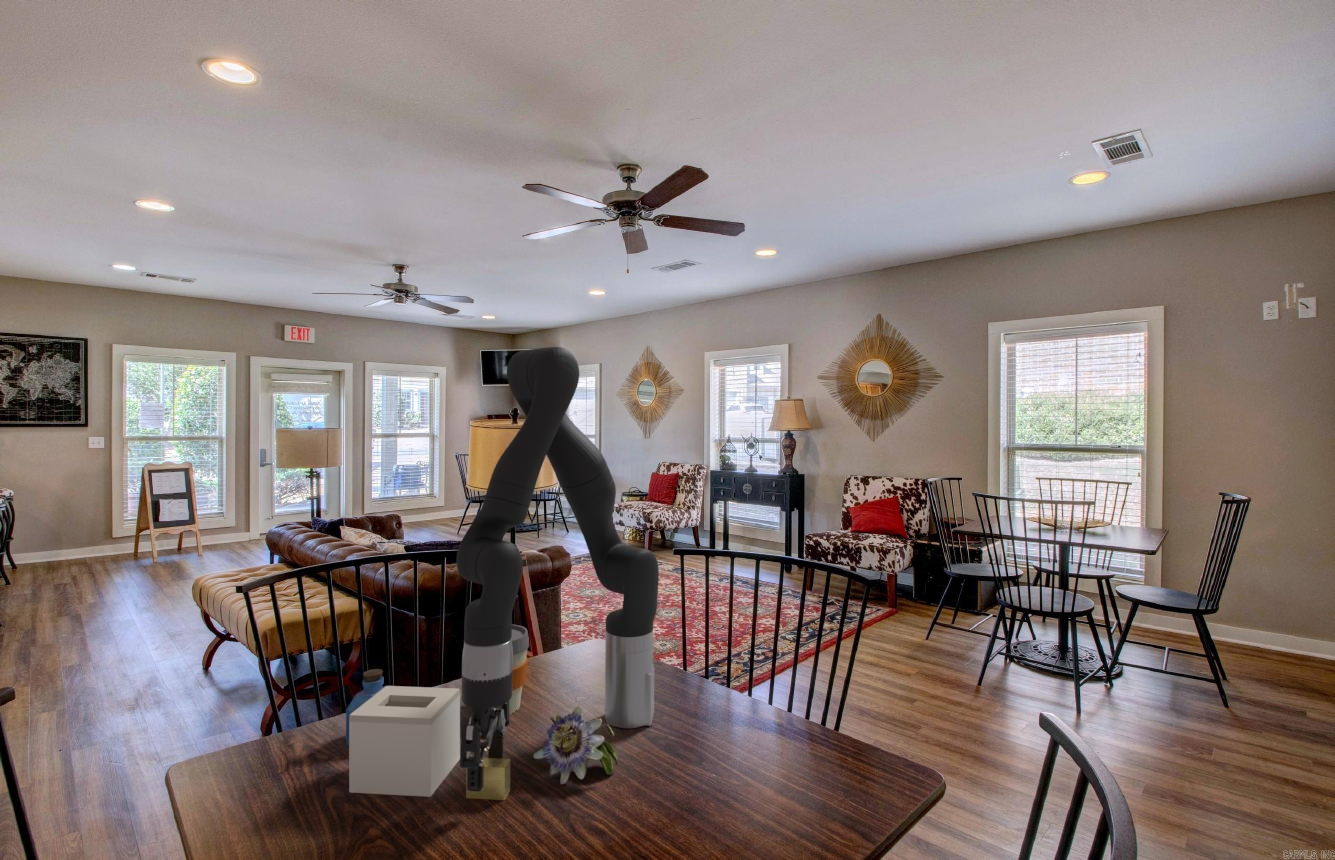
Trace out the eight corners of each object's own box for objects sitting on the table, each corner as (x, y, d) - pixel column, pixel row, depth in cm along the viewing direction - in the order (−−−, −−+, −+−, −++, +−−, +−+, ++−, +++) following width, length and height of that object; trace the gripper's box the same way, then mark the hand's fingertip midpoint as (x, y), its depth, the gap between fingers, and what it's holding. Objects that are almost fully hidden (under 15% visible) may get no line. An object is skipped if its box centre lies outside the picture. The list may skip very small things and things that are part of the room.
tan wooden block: (510, 790, 99) (510, 758, 99) (504, 800, 96) (504, 767, 96) (472, 788, 99) (472, 757, 99) (466, 798, 97) (466, 765, 97)
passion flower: (565, 816, 101) (519, 759, 100) (581, 767, 112) (540, 715, 111) (621, 784, 99) (575, 726, 98) (632, 737, 110) (591, 684, 108)
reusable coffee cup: (501, 689, 136) (501, 619, 136) (542, 704, 129) (542, 631, 129) (450, 710, 126) (451, 635, 126) (492, 728, 119) (492, 648, 119)
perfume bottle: (377, 748, 111) (377, 680, 111) (346, 745, 113) (346, 677, 113) (398, 732, 117) (398, 667, 117) (369, 728, 119) (369, 664, 119)
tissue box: (459, 758, 108) (460, 688, 108) (430, 796, 97) (430, 718, 97) (386, 755, 109) (386, 685, 109) (349, 792, 98) (349, 714, 98)
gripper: (495, 688, 90) (493, 802, 90) (525, 653, 104) (524, 752, 104) (443, 685, 91) (442, 799, 91) (481, 651, 105) (479, 749, 105)
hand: (485, 774), depth 98 cm, fingers open, 8 cm apart
